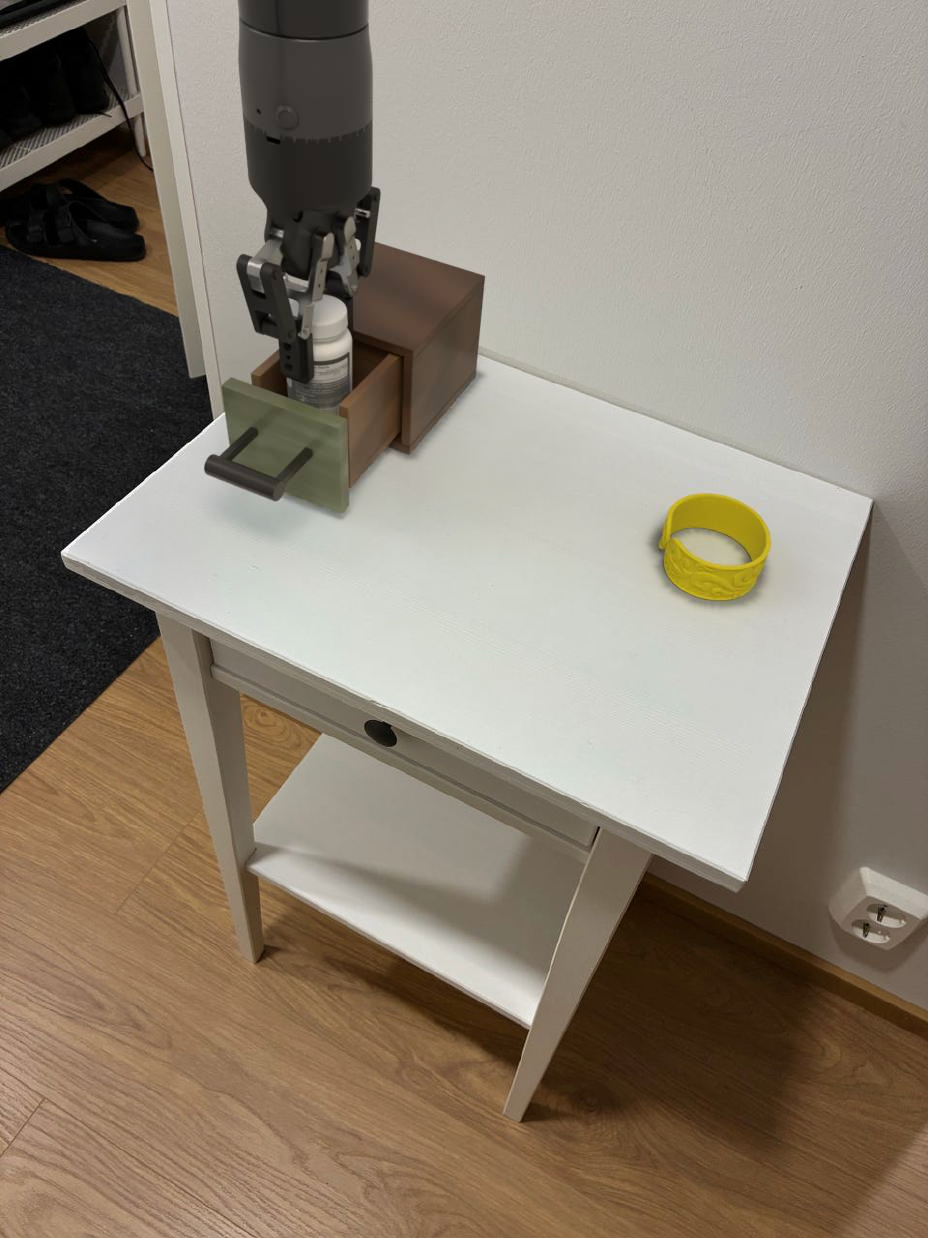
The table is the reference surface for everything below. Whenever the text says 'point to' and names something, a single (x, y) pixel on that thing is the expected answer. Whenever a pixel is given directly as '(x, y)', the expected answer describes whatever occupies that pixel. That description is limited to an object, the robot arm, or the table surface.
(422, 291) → the cabinet
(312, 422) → the drawer
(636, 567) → the table surface
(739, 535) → the bracelet
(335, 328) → the pill bottle
